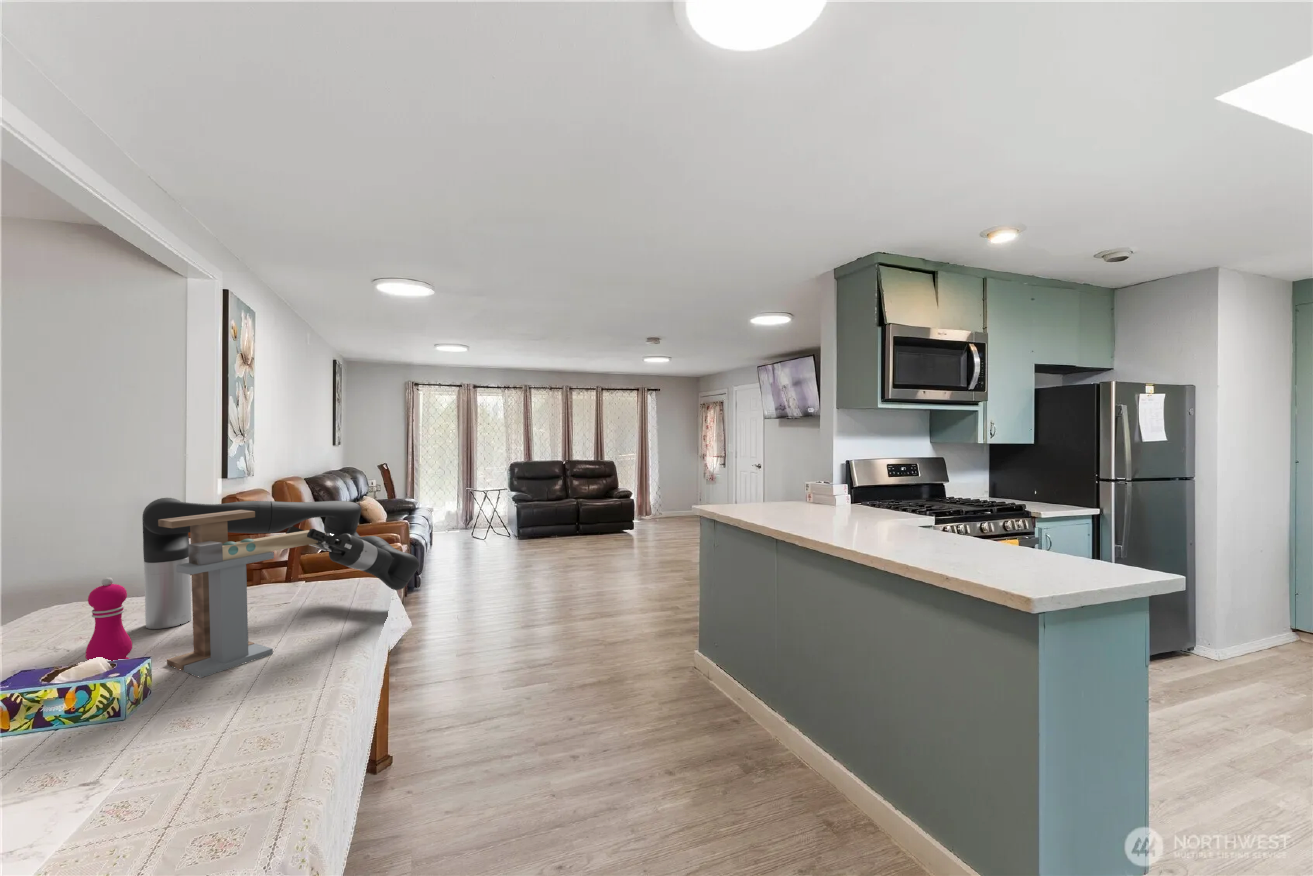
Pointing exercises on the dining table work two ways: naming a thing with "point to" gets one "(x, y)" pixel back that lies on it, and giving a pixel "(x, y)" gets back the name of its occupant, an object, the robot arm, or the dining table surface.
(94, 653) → the pepper mill
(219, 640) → the low stand
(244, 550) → the teal-dotted wooden beam
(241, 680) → the dining table surface
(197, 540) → the tall stand
